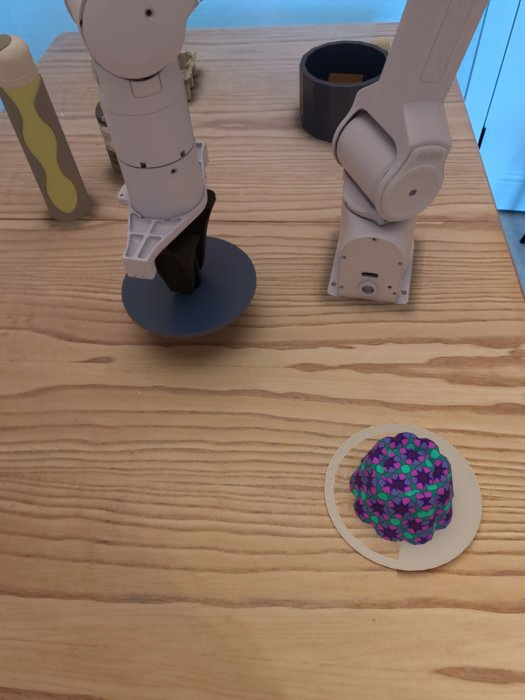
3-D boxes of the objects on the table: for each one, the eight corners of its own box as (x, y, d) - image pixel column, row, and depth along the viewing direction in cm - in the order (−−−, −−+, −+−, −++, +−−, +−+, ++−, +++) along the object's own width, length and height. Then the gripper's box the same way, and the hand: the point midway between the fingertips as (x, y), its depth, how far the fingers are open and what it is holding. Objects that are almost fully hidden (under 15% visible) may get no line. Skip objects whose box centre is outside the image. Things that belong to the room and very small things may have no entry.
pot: (381, 145, 73) (387, 89, 67) (293, 139, 75) (291, 83, 69) (389, 98, 79) (396, 42, 73) (308, 93, 81) (308, 38, 76)
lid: (238, 352, 48) (232, 316, 45) (103, 332, 51) (87, 296, 47) (270, 251, 56) (267, 213, 52) (150, 237, 58) (139, 200, 54)
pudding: (356, 594, 41) (361, 573, 37) (304, 449, 48) (304, 417, 44) (509, 546, 42) (532, 520, 38) (437, 412, 49) (449, 377, 45)
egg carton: (154, 69, 88) (148, 42, 85) (202, 68, 88) (198, 41, 84) (138, 106, 82) (131, 78, 79) (190, 106, 81) (185, 78, 78)
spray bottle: (95, 219, 68) (29, 45, 52) (54, 229, 67) (-26, 57, 51) (90, 195, 70) (26, 23, 54) (50, 204, 70) (-26, 33, 54)
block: (356, 124, 75) (359, 92, 72) (323, 122, 76) (324, 90, 72) (361, 106, 78) (363, 74, 74) (328, 104, 78) (329, 72, 75)
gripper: (138, 88, 46) (171, 220, 57) (61, 204, 38) (116, 332, 49) (223, 93, 45) (239, 227, 55) (161, 214, 36) (195, 344, 47)
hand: (187, 277), depth 52 cm, fingers closed on lid, 2 cm apart
